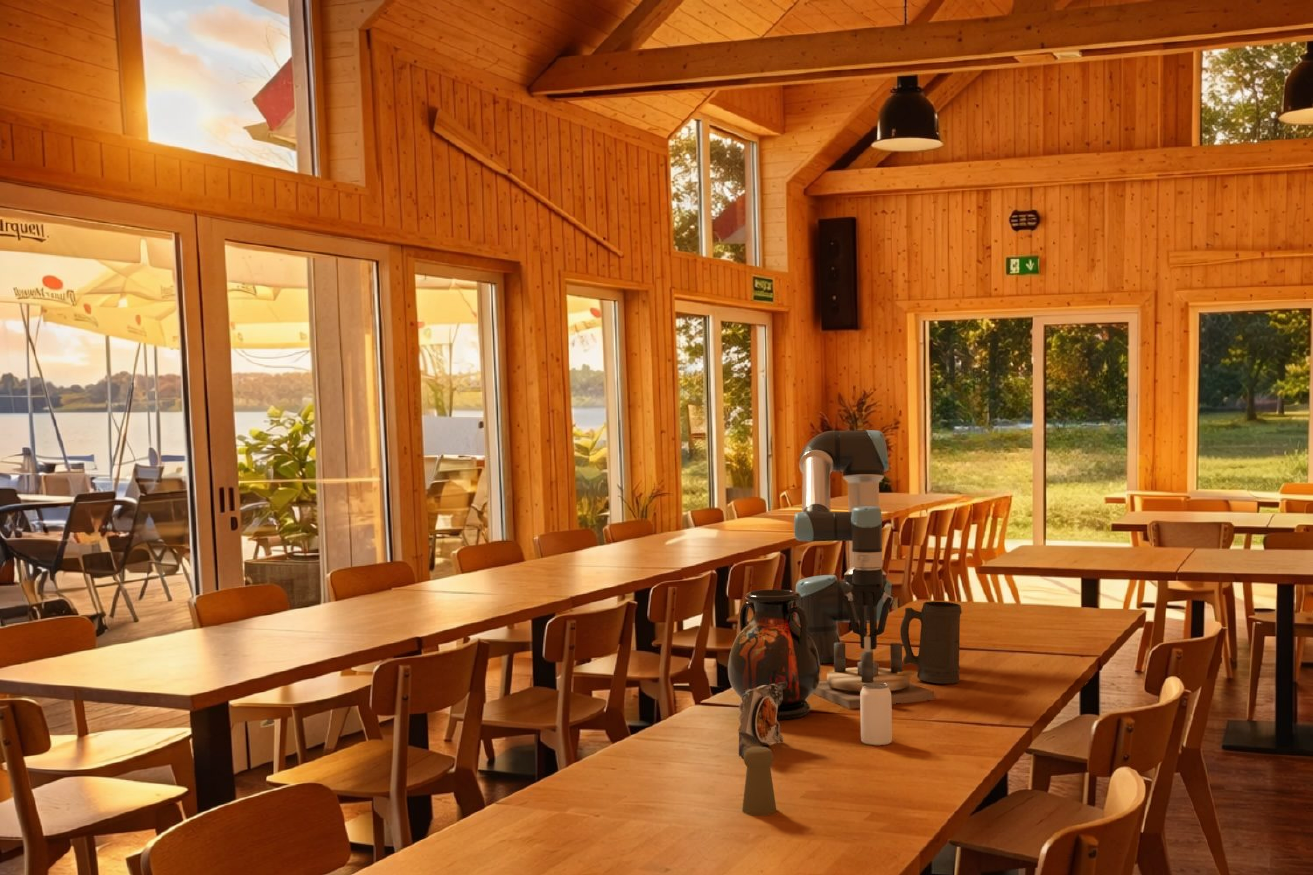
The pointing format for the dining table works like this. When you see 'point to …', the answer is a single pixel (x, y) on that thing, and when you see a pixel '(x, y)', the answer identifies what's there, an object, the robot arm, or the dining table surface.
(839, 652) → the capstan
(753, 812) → the brown tapered piece
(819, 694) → the stand
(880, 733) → the can
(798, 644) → the amphora vase
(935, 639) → the beer stein
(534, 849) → the dining table surface
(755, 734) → the meal
